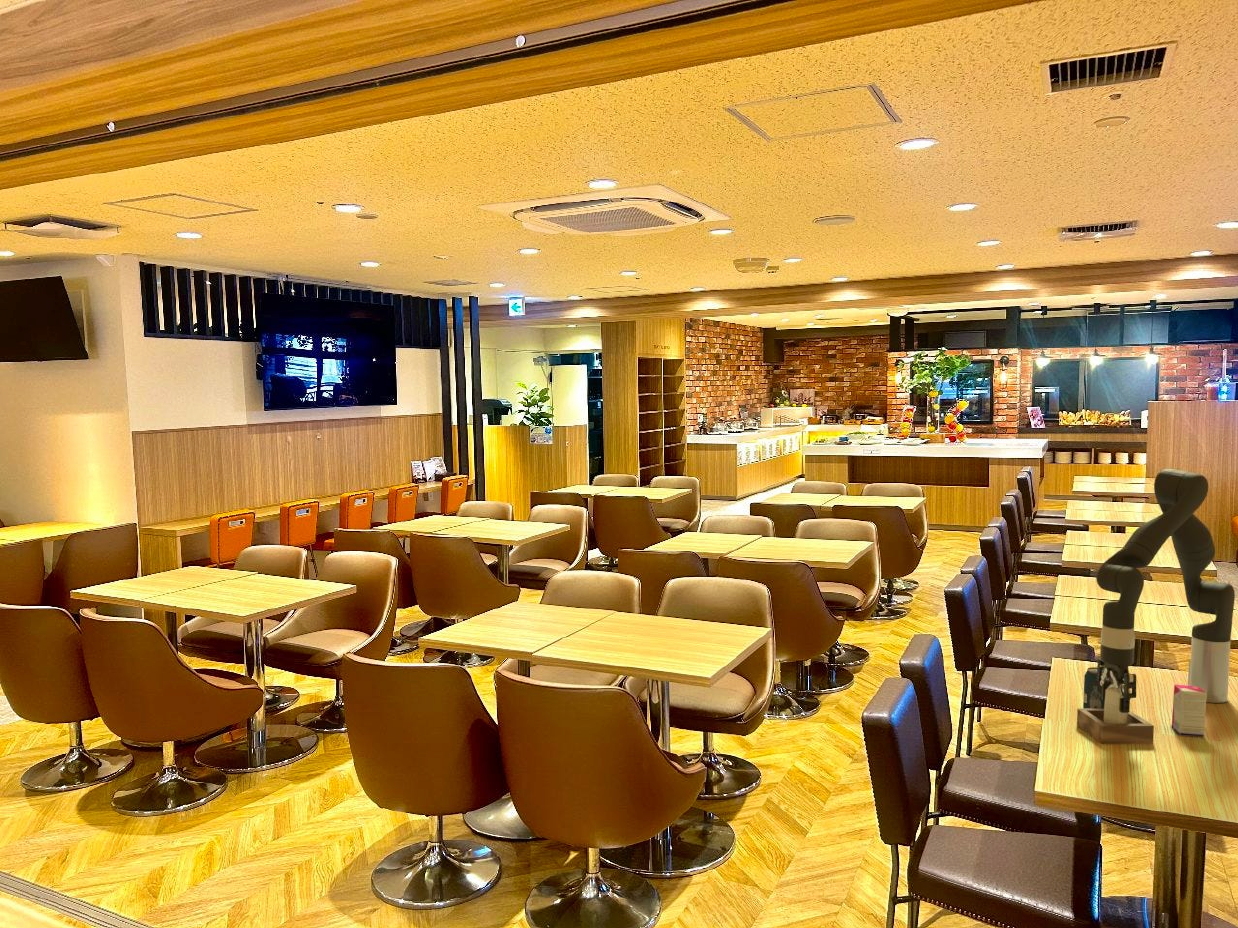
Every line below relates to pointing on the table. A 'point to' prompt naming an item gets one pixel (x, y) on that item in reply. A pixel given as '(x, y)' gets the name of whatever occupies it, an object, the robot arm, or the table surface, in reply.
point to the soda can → (1092, 690)
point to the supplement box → (1189, 710)
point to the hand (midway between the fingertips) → (1115, 706)
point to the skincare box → (1113, 707)
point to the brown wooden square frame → (1115, 728)
